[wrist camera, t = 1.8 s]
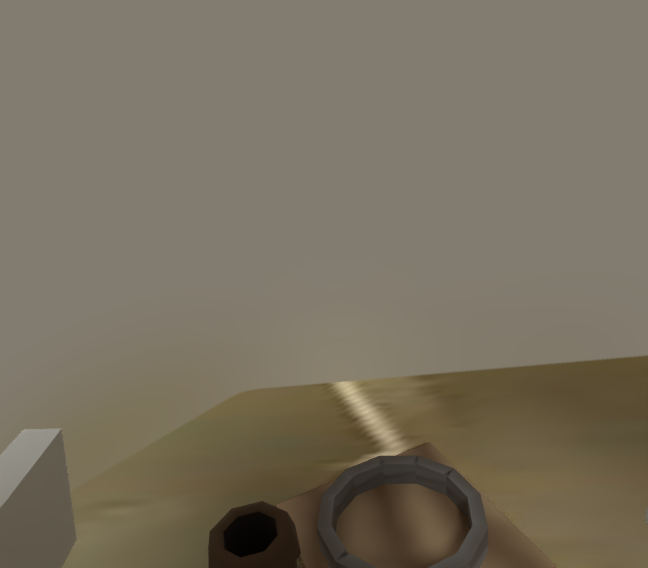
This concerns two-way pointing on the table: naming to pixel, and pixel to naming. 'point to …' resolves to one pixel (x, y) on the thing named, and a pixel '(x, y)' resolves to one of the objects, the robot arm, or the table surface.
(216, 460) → the table surface
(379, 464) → the collar stand
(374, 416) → the table surface
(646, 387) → the table surface
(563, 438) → the table surface
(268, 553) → the beer bottle
